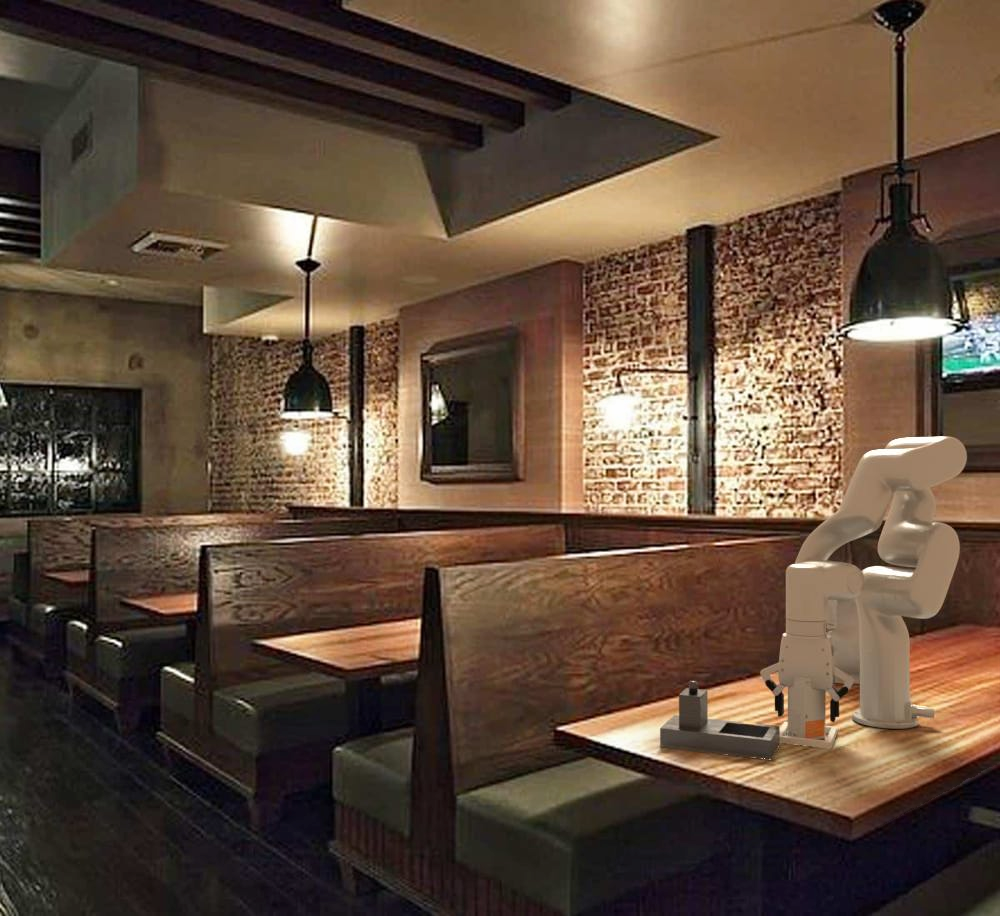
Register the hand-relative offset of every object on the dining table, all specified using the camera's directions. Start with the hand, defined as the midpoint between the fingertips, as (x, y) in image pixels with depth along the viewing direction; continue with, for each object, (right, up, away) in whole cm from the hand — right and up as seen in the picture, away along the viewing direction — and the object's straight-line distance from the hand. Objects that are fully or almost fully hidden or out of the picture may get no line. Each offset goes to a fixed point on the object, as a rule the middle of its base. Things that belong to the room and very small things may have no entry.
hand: (806, 717), depth 184 cm
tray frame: (0, -4, 0) cm, 4 cm away
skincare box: (0, -4, 0) cm, 4 cm away
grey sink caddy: (-18, -4, -6) cm, 19 cm away
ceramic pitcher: (+26, -5, +51) cm, 57 cm away
